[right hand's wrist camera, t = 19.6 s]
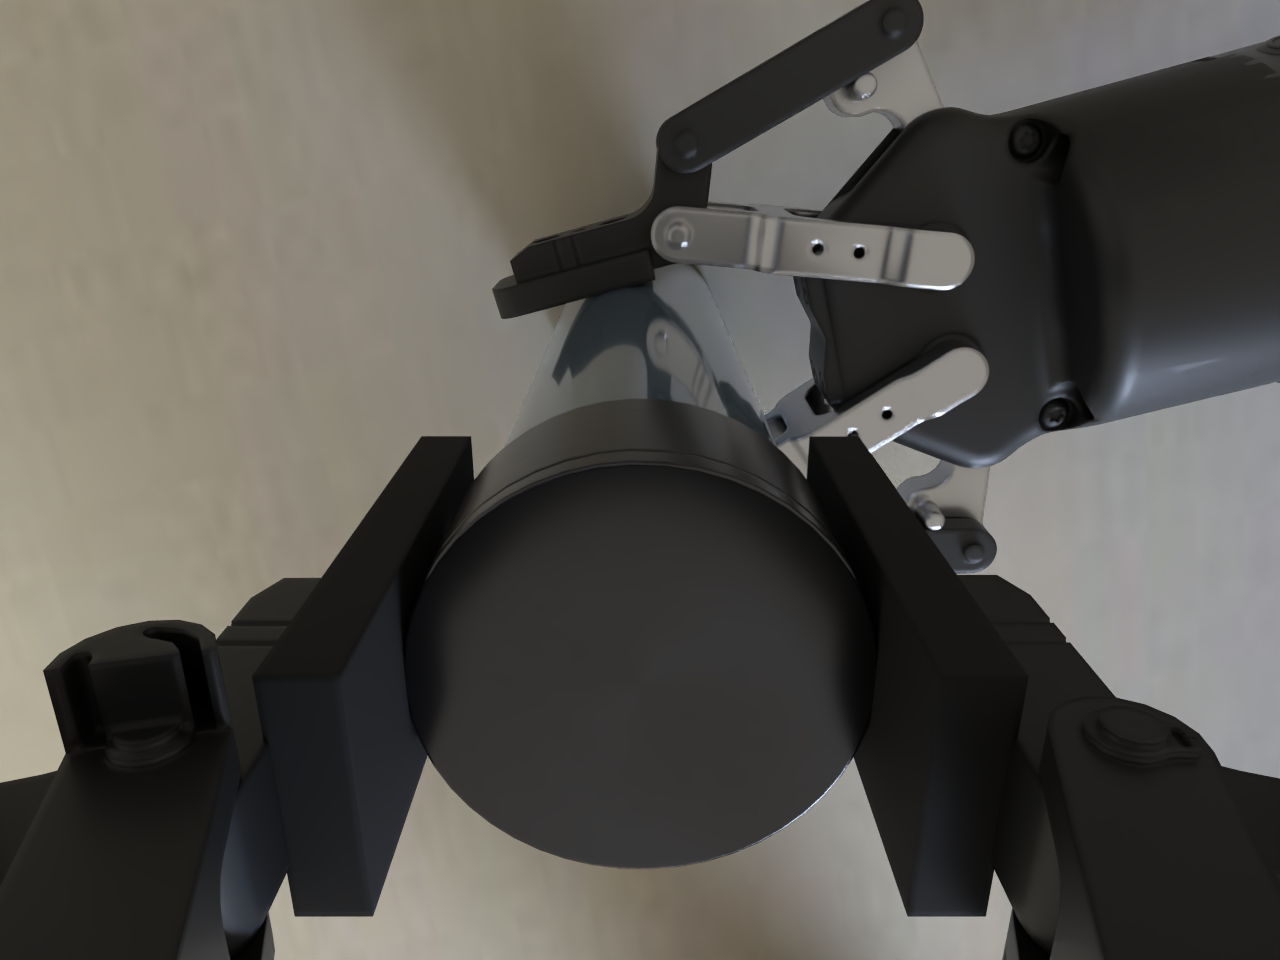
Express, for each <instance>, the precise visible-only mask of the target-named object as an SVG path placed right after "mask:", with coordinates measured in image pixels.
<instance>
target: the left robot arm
mask: <svg viewBox="0 0 1280 960" xmlns="http://www.w3.org/2000/svg"><path fill="white" fill-rule="evenodd" d="M923 20H924V19H923V11H922V7H921V5H920V3H919V1H918V0H869V1H867V2H865V3H863V4H862V5H860V6H858V7H856V8H854V9H853V10H851V11H849V12H848V13H846V14H844V15H843V16H841V17H839V18H838V19H836V20H834V21H833V22H831V23H829V24H827V25H826V26H824V27H822V28H821V29H819V30H817V31H816V32H814V33H812V34H811V35H809V36H807V37H806V38H804V39H802V40H800V41H799V42H797V43H795V44H794V45H792V46H790V47H789V48H787V49H785V50H784V51H782V52H780V53H779V54H777V55H775V56H773V57H772V58H770V59H768V60H767V61H765V62H763V63H762V64H760V65H758V66H757V67H755V68H753V69H752V70H750V71H748V72H746V73H745V74H743V75H741V76H740V77H738V78H736V79H735V80H733V81H731V82H730V83H728V84H726V85H724V86H723V87H721V88H719V89H718V90H716V91H714V92H713V93H711V94H709V95H708V96H706V97H704V98H703V99H701V100H699V101H697V102H696V103H694V104H692V105H691V106H689V107H687V108H686V109H684V110H682V111H681V112H679V113H677V114H676V115H674V116H672V117H670V118H669V119H668V120H666V121H665V122H664V123H663V124H662V126H661V127H660V129H659V131H658V134H657V139H656V146H657V156H656V166H655V177H654V186H653V190H652V193H651V196H650V198H649V199H648V201H647V202H646V203H645V205H644V206H643V207H641V208H640V209H639V210H637V211H635V212H634V213H631V214H628V215H624V216H621V217H617V218H613V219H610V220H606V221H602V222H599V223H595V224H591V225H588V226H584V227H580V228H577V229H573V230H569V231H566V232H562V233H559V234H554V235H551V236H547V237H543V238H540V239H536V240H534V241H533V242H532V243H530V244H529V245H528V246H527V247H525V248H524V249H523V250H522V251H520V252H519V253H518V254H517V255H516V256H515V257H514V258H513V259H512V260H511V261H510V263H511V266H512V269H513V272H514V275H512V276H509V277H506V278H504V279H502V280H500V281H499V282H498V283H497V284H496V285H495V287H494V288H493V289H492V290H493V294H494V297H495V300H496V303H497V306H498V309H499V313H500V316H501V318H502V319H507V318H513V317H517V316H521V315H525V314H529V313H533V312H536V311H540V310H544V309H548V308H552V307H555V306H559V305H563V304H567V303H570V302H574V301H578V300H582V299H586V298H589V297H593V296H597V295H601V294H604V293H608V292H610V291H613V290H618V289H623V288H627V287H631V286H635V285H638V284H642V283H646V282H650V281H654V280H656V277H655V269H657V268H661V267H665V266H668V265H672V264H676V263H686V264H697V265H709V266H721V267H732V268H744V269H751V270H755V271H759V272H763V273H769V274H778V275H789V276H793V278H794V283H795V288H796V293H797V296H798V298H799V300H800V302H801V304H802V306H803V308H804V310H805V312H806V314H807V316H808V318H809V320H810V322H811V332H810V346H809V358H810V363H811V368H812V373H813V378H812V379H811V380H809V381H807V382H806V383H804V384H803V385H801V386H800V387H798V388H796V389H795V390H793V391H792V392H790V393H789V394H787V395H786V396H784V397H783V398H782V399H781V400H780V401H779V402H778V403H777V405H776V406H775V408H774V409H773V410H772V411H771V412H769V413H768V414H766V415H765V418H766V421H767V423H768V425H769V428H770V430H771V432H772V435H773V437H774V439H775V442H776V444H777V446H778V449H780V450H781V451H782V452H783V453H784V454H785V455H786V456H787V457H788V458H789V459H790V460H791V461H792V462H793V463H794V464H795V466H796V467H797V468H798V469H799V470H800V471H801V472H802V474H803V475H804V477H805V478H806V479H807V466H808V452H809V437H810V436H859V437H860V439H861V440H862V442H863V443H864V444H865V446H866V447H867V449H868V450H869V451H870V453H871V452H873V451H875V450H876V449H878V448H880V447H881V446H883V445H885V444H886V443H888V442H890V441H894V442H897V443H899V444H902V445H904V446H907V447H910V448H912V449H915V450H917V451H920V452H923V453H925V454H928V455H930V456H933V457H936V458H938V459H941V461H940V463H939V464H938V466H937V467H936V468H935V469H934V470H932V471H931V472H929V473H927V474H925V475H922V476H915V477H911V478H909V479H906V480H905V481H903V482H902V483H901V484H900V485H899V486H898V488H897V491H898V492H899V494H900V495H901V497H902V498H903V499H904V501H905V502H906V504H907V505H908V506H909V508H910V509H911V511H912V512H913V514H914V515H915V516H916V518H917V519H918V521H919V522H920V523H921V525H922V526H923V528H924V529H925V530H926V532H927V533H928V535H929V536H930V538H931V539H932V540H933V542H934V543H935V545H936V546H937V547H938V549H939V550H940V552H941V553H942V554H943V556H944V557H945V559H946V560H947V562H948V563H949V564H950V566H951V567H952V569H953V570H954V571H955V573H976V572H979V571H981V570H983V569H985V568H986V567H988V566H989V565H990V564H991V563H992V561H993V560H994V558H995V555H996V551H997V546H996V542H995V540H994V538H993V537H992V536H991V535H990V534H989V532H988V531H987V530H986V529H985V528H984V527H983V523H982V522H983V514H984V507H985V500H986V492H987V485H988V478H989V471H990V466H992V465H994V464H997V463H999V462H1001V461H1002V460H1004V459H1006V458H1007V457H1008V456H1009V455H1011V454H1012V453H1013V452H1014V451H1016V450H1017V449H1018V448H1019V447H1021V446H1022V445H1024V444H1025V443H1027V442H1028V441H1030V440H1032V439H1034V438H1036V437H1038V436H1040V435H1042V434H1045V433H1049V432H1053V431H1059V430H1067V429H1075V428H1082V427H1088V426H1094V425H1098V424H1103V423H1107V422H1111V421H1115V420H1119V419H1123V418H1127V417H1132V416H1136V415H1140V414H1144V413H1148V412H1152V411H1156V410H1161V409H1165V408H1169V407H1173V406H1177V405H1181V404H1185V403H1189V402H1194V401H1198V400H1202V399H1206V398H1210V397H1214V396H1218V395H1224V394H1228V393H1232V392H1236V391H1240V390H1244V389H1249V388H1253V387H1257V386H1261V385H1265V384H1269V383H1273V382H1278V383H1280V36H1277V37H1274V38H1272V39H1270V40H1267V41H1265V42H1262V43H1258V44H1254V45H1251V46H1247V47H1244V48H1240V49H1237V50H1233V51H1229V52H1226V53H1222V54H1219V55H1215V56H1211V57H1206V58H1203V59H1199V60H1195V61H1192V62H1188V63H1184V64H1180V65H1177V66H1173V67H1169V68H1166V69H1162V70H1159V71H1155V72H1151V73H1148V74H1144V75H1140V76H1137V77H1133V78H1129V79H1126V80H1122V81H1118V82H1115V83H1111V84H1107V85H1104V86H1100V87H1096V88H1093V89H1089V90H1085V91H1082V92H1078V93H1074V94H1071V95H1067V96H1063V97H1060V98H1056V99H1052V100H1049V101H1045V102H1041V103H1038V104H1034V105H1030V106H1027V107H1023V108H1019V109H1016V110H1012V111H1008V112H1004V113H1000V114H995V115H982V114H977V113H973V112H970V111H967V110H964V109H960V108H952V107H947V108H943V105H942V103H941V100H940V98H939V95H938V93H937V90H936V88H935V85H934V83H933V80H932V78H931V75H930V73H929V70H928V68H927V65H926V63H925V60H924V58H923V55H922V53H921V50H920V48H919V45H918V43H917V39H918V37H919V36H920V33H921V31H922V27H923ZM821 99H823V100H824V102H825V104H826V106H827V107H828V109H829V110H830V111H831V112H833V113H834V114H836V115H838V116H841V117H859V116H863V115H866V114H869V113H871V112H877V113H879V114H882V115H883V116H885V117H886V118H887V119H888V120H889V121H890V122H891V124H892V125H893V127H894V128H893V129H892V130H891V131H890V133H889V134H888V135H887V136H886V137H885V138H884V140H883V141H882V142H881V143H880V144H879V145H878V147H877V148H876V149H875V150H874V151H873V152H872V154H871V155H870V156H869V157H868V158H867V159H866V161H865V162H864V163H863V164H862V165H861V166H860V168H859V169H858V170H857V171H856V172H855V173H854V175H853V176H852V177H851V178H850V179H849V180H848V182H847V183H846V184H845V185H844V186H843V187H842V189H841V190H840V191H839V192H838V193H837V194H836V196H835V197H834V198H833V199H832V200H831V201H830V203H829V204H828V205H827V206H826V207H825V208H824V210H818V209H807V208H795V207H784V206H773V205H761V204H734V203H723V202H711V201H708V196H709V187H710V178H711V169H712V162H714V161H716V160H717V159H719V158H721V157H722V156H724V155H726V154H728V153H729V152H731V151H733V150H735V149H736V148H738V147H740V146H742V145H743V144H745V143H747V142H748V141H750V140H752V139H754V138H755V137H757V136H759V135H761V134H762V133H764V132H766V131H767V130H769V129H771V128H773V127H774V126H776V125H778V124H780V123H781V122H783V121H785V120H787V119H788V118H790V117H792V116H793V115H795V114H797V113H799V112H800V111H802V110H804V109H806V108H807V107H809V106H811V105H813V104H814V103H816V102H818V101H819V100H821ZM825 399H826V400H825ZM850 431H853V432H852V433H851V434H848V433H849V432H850Z"/></svg>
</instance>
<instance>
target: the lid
mask: <svg viewBox="0 0 1280 960" xmlns="http://www.w3.org/2000/svg"><path fill="white" fill-rule="evenodd" d="M877 658H878V641H877V635H876V629H875V623H874V619H873V616H872V613H871V610H870V607H869V604H868V601H867V598H866V595H865V593H864V591H863V589H862V587H861V585H860V583H859V581H858V579H857V577H856V574H855V572H854V570H853V568H852V566H851V564H850V562H849V560H848V558H847V556H846V554H845V552H844V550H843V547H842V545H841V543H840V541H839V539H838V537H837V535H836V533H835V531H834V529H833V527H832V525H831V523H830V521H829V518H828V516H827V514H826V512H825V510H824V508H823V506H822V504H821V502H820V501H819V499H818V497H817V495H816V493H815V491H814V489H813V488H812V486H811V485H810V484H809V482H808V481H807V479H806V478H805V477H804V475H803V474H802V472H801V471H800V470H799V469H798V468H797V467H796V466H795V464H794V463H793V462H792V461H791V460H790V459H789V458H788V457H787V456H786V455H785V454H784V453H783V452H782V451H781V450H780V449H778V448H777V447H776V446H775V445H773V444H772V443H771V442H770V441H768V440H767V439H766V438H765V437H763V436H762V435H760V434H759V433H757V432H755V431H754V430H752V429H750V428H749V427H747V426H745V425H744V424H742V423H740V422H739V421H736V420H734V419H732V418H729V417H727V416H725V415H722V414H720V413H718V412H716V411H713V410H709V409H706V408H702V407H699V406H695V405H692V404H688V403H682V402H676V401H669V400H662V399H633V398H632V399H622V400H613V401H604V402H600V403H595V404H591V405H587V406H582V407H578V408H575V409H573V410H570V411H567V412H565V413H562V414H559V415H557V416H554V417H551V418H550V419H548V420H546V421H544V422H542V423H540V424H538V425H536V426H535V427H533V428H531V429H529V430H527V431H526V432H525V433H523V434H522V435H520V436H519V437H518V438H516V439H515V440H513V441H512V442H511V443H509V444H508V445H507V446H505V447H504V448H503V449H502V450H501V451H500V452H499V453H498V454H497V455H496V456H495V457H494V458H493V459H492V460H491V461H490V462H489V463H488V464H487V465H486V466H485V468H484V469H483V470H482V471H481V473H480V474H479V475H478V476H477V478H476V479H475V480H474V481H473V483H472V484H471V486H470V488H469V489H468V491H467V493H466V495H465V496H464V498H463V500H462V501H461V503H460V505H459V507H458V509H457V511H456V513H455V515H454V518H453V520H452V522H451V524H450V526H449V528H448V530H447V532H446V534H445V536H444V538H443V540H442V543H441V545H440V547H439V549H438V551H437V553H436V555H435V557H434V559H433V561H432V563H431V565H430V568H429V570H428V572H427V574H426V576H425V578H424V580H423V582H422V584H421V587H420V589H419V592H418V594H417V597H416V599H415V602H414V604H413V607H412V609H411V612H410V616H409V621H408V625H407V629H406V634H405V638H404V652H403V660H404V671H405V680H406V690H407V698H408V706H409V712H410V716H411V719H412V722H413V724H414V727H415V729H416V732H417V735H418V737H419V740H420V742H421V744H422V746H423V748H424V749H425V751H426V753H427V755H428V756H429V758H430V760H431V762H432V764H433V765H434V767H435V768H436V769H437V771H438V772H439V773H440V775H441V776H442V777H443V779H444V780H445V781H446V783H447V784H448V785H449V786H450V788H451V789H452V790H453V791H454V792H455V793H456V794H457V795H458V796H459V797H460V798H461V799H462V800H463V801H464V802H465V803H466V804H467V805H468V806H469V807H470V808H472V809H473V810H474V811H475V812H477V813H478V814H479V815H480V816H482V817H483V818H484V819H486V820H487V821H488V822H489V823H491V824H492V825H494V826H495V827H497V828H499V829H500V830H502V831H504V832H505V833H507V834H508V835H510V836H512V837H513V838H515V839H517V840H520V841H522V842H524V843H526V844H528V845H530V846H532V847H534V848H537V849H539V850H541V851H544V852H547V853H550V854H553V855H556V856H559V857H562V858H565V859H569V860H573V861H577V862H582V863H586V864H590V865H596V866H604V867H612V868H621V869H657V868H670V867H679V866H685V865H690V864H696V863H701V862H706V861H709V860H713V859H716V858H719V857H723V856H726V855H729V854H733V853H735V852H738V851H740V850H742V849H745V848H747V847H749V846H752V845H754V844H757V843H759V842H761V841H762V840H764V839H766V838H768V837H770V836H771V835H773V834H775V833H777V832H779V831H780V830H782V829H784V828H785V827H786V826H788V825H789V824H791V823H792V822H793V821H795V820H796V819H798V818H799V817H800V816H802V815H803V814H805V813H806V812H807V811H808V810H809V809H810V808H811V807H812V806H813V805H814V804H815V803H817V802H818V801H819V800H820V799H821V798H822V797H823V796H824V795H825V794H826V793H827V792H828V791H829V789H830V788H831V787H832V786H833V785H834V783H835V782H836V781H837V780H838V779H839V778H840V776H841V775H842V774H843V772H844V771H845V769H846V768H847V766H848V764H849V763H850V761H851V760H852V758H853V757H854V755H855V754H856V752H857V750H858V748H859V745H860V743H861V741H862V739H863V737H864V735H865V732H866V730H867V728H868V725H869V721H870V718H871V712H872V705H873V696H874V687H875V678H876V668H877Z"/></svg>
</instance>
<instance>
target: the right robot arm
mask: <svg viewBox="0 0 1280 960" xmlns="http://www.w3.org/2000/svg"><path fill="white" fill-rule="evenodd" d="M473 481H474V472H473V458H472V444H471V436H422V437H421V438H420V440H419V441H418V442H417V444H416V445H415V447H414V448H413V449H412V451H411V452H410V454H409V455H408V456H407V458H406V459H405V461H404V462H403V464H402V465H401V466H400V468H399V469H398V471H397V472H396V473H395V475H394V476H393V478H392V479H391V480H390V482H389V483H388V485H387V486H386V488H385V489H384V490H383V492H382V493H381V495H380V496H379V497H378V499H377V500H376V502H375V503H374V504H373V506H372V507H371V509H370V510H369V512H368V513H367V514H366V516H365V517H364V519H363V520H362V521H361V523H360V524H359V526H358V527H357V528H356V530H355V531H354V533H353V534H352V536H351V537H350V538H349V540H348V541H347V543H346V544H345V545H344V547H343V548H342V550H341V551H340V552H339V554H338V555H337V557H336V558H335V560H334V561H333V562H332V564H331V565H330V567H329V568H328V569H327V571H326V572H325V574H324V575H323V576H322V578H283V579H282V580H280V581H278V582H277V583H275V584H273V585H272V586H270V587H268V588H267V589H265V590H263V591H262V592H260V593H258V594H257V595H255V596H253V597H252V598H251V599H250V600H249V601H248V602H247V603H246V605H245V606H244V607H243V608H242V609H241V611H240V612H239V613H238V614H237V615H236V617H235V618H234V619H233V620H232V625H231V626H227V627H226V629H225V630H224V631H223V632H222V634H221V635H220V636H219V637H218V638H217V640H216V637H215V634H214V633H212V632H211V631H210V630H208V629H207V628H206V627H204V626H203V625H201V624H196V623H191V622H187V621H182V620H161V621H146V622H141V623H136V624H131V625H126V626H121V627H117V628H114V629H111V630H108V631H106V632H103V633H100V634H97V635H94V636H92V637H89V638H86V639H84V640H83V641H81V642H79V643H77V644H76V645H74V646H72V647H70V648H69V649H67V650H65V651H64V652H62V653H60V654H59V655H58V656H57V657H56V658H55V659H54V660H53V661H52V662H51V663H50V664H49V665H48V666H47V667H46V668H45V669H44V670H43V672H44V676H45V679H46V683H47V686H48V690H49V694H50V697H51V701H52V705H53V708H54V712H55V716H56V719H57V723H58V726H59V730H60V734H61V737H62V741H63V745H64V748H65V752H66V754H65V756H64V758H63V760H62V762H61V764H60V766H59V768H58V770H57V771H54V772H50V773H47V774H43V775H38V776H33V777H28V778H23V779H18V780H13V781H7V782H2V783H0V960H274V954H275V948H274V941H273V934H272V928H271V923H270V918H269V912H268V911H269V909H270V907H271V905H272V903H273V901H274V899H275V897H276V894H277V892H278V890H279V888H280V886H281V884H282V882H283V880H284V878H285V875H286V873H287V875H288V881H289V886H290V892H291V898H292V903H293V909H294V914H295V916H373V915H374V912H375V909H376V906H377V903H378V900H379V897H380V894H381V891H382V888H383V885H384V882H385V879H386V876H387V873H388V870H389V867H390V864H391V861H392V858H393V856H394V853H395V850H396V847H397V844H398V841H399V838H400V835H401V832H402V829H403V826H404V823H405V820H406V817H407V814H408V811H409V808H410V805H411V802H412V799H413V796H414V794H415V791H416V788H417V785H418V782H419V779H420V776H421V773H422V770H423V767H424V764H425V761H426V758H427V753H426V751H425V749H424V748H423V746H422V744H421V742H420V740H419V737H418V735H417V732H416V729H415V727H414V724H413V722H412V719H411V716H410V712H409V706H408V698H407V690H406V680H405V671H404V660H403V652H404V638H405V634H406V629H407V625H408V621H409V616H410V612H411V609H412V607H413V604H414V602H415V599H416V597H417V594H418V592H419V589H420V587H421V584H422V582H423V580H424V578H425V576H426V574H427V572H428V570H429V568H430V565H431V563H432V561H433V559H434V557H435V555H436V553H437V551H438V549H439V547H440V545H441V543H442V540H443V538H444V536H445V534H446V532H447V530H448V528H449V526H450V524H451V522H452V520H453V518H454V515H455V513H456V511H457V509H458V507H459V505H460V503H461V501H462V500H463V498H464V496H465V495H466V493H467V491H468V489H469V488H470V486H471V484H472V483H473ZM807 481H808V482H809V484H810V485H811V486H812V488H813V489H814V491H815V493H816V495H817V497H818V499H819V501H820V502H821V504H822V506H823V508H824V510H825V512H826V514H827V516H828V518H829V521H830V523H831V525H832V527H833V529H834V531H835V533H836V535H837V537H838V539H839V541H840V543H841V545H842V547H843V550H844V552H845V554H846V556H847V558H848V560H849V562H850V564H851V566H852V568H853V570H854V572H855V574H856V577H857V579H858V581H859V583H860V585H861V587H862V589H863V591H864V593H865V595H866V598H867V601H868V604H869V607H870V610H871V613H872V616H873V619H874V623H875V629H876V635H877V641H878V658H877V668H876V678H875V687H874V696H873V705H872V712H871V718H870V721H869V725H868V728H867V730H866V732H865V735H864V737H863V739H862V741H861V743H860V745H859V748H858V750H857V752H856V754H855V755H854V759H855V762H856V765H857V768H858V771H859V774H860V777H861V780H862V783H863V786H864V789H865V792H866V795H867V798H868V801H869V804H870V807H871V810H872V813H873V816H874V818H875V821H876V824H877V827H878V830H879V833H880V836H881V839H882V842H883V845H884V848H885V851H886V854H887V857H888V860H889V863H890V866H891V869H892V872H893V875H894V878H895V880H896V883H897V886H898V889H899V892H900V895H901V898H902V901H903V904H904V907H905V910H906V913H907V916H986V912H987V906H988V901H989V895H990V890H991V884H992V878H993V873H994V870H995V872H996V874H997V876H998V878H999V880H1000V882H1001V884H1002V886H1003V888H1004V891H1005V893H1006V895H1007V897H1008V899H1009V901H1010V903H1011V905H1012V912H1011V918H1010V923H1009V928H1008V933H1007V938H1006V944H1005V949H1004V954H1003V959H1002V960H1280V779H1279V778H1274V777H1269V776H1264V775H1258V774H1253V773H1248V772H1243V771H1239V770H1235V769H1231V768H1227V767H1223V766H1221V765H1220V763H1219V761H1218V759H1217V757H1216V755H1215V753H1214V751H1213V750H1212V749H1211V748H1210V746H1209V745H1208V744H1207V743H1206V742H1205V740H1204V739H1203V738H1202V737H1201V735H1200V734H1199V733H1197V732H1196V731H1194V730H1193V729H1191V728H1190V727H1189V726H1187V725H1186V724H1184V723H1183V722H1181V721H1180V720H1178V719H1177V718H1175V717H1173V716H1171V715H1169V714H1166V713H1164V712H1162V711H1159V710H1157V709H1155V708H1152V707H1150V706H1147V705H1145V704H1141V703H1137V702H1133V701H1128V700H1124V699H1120V698H1116V697H1115V696H1114V695H1113V693H1112V692H1111V691H1110V690H1109V689H1108V687H1107V686H1106V685H1105V684H1104V683H1103V682H1102V680H1101V679H1100V678H1099V677H1098V676H1097V674H1096V673H1095V672H1094V671H1093V670H1092V668H1091V667H1090V666H1089V665H1088V664H1087V662H1086V661H1085V660H1084V659H1083V658H1082V656H1081V655H1080V654H1079V653H1078V652H1077V650H1076V649H1075V648H1074V647H1073V646H1072V644H1071V643H1066V637H1065V636H1064V635H1063V634H1062V632H1061V631H1060V630H1059V629H1058V628H1057V626H1056V625H1055V624H1054V623H1050V618H1049V617H1048V616H1047V614H1046V613H1045V612H1044V611H1043V610H1042V608H1041V607H1040V606H1039V605H1038V604H1037V602H1036V601H1035V600H1034V599H1033V598H1032V596H1031V595H1029V594H1028V593H1026V592H1024V591H1023V590H1021V589H1019V588H1018V587H1016V586H1014V585H1013V584H1011V583H1009V582H1008V581H1006V580H1004V579H1003V578H1001V577H999V576H998V575H957V574H956V573H955V571H954V570H953V569H952V567H951V566H950V564H949V563H948V562H947V560H946V559H945V557H944V556H943V554H942V553H941V552H940V550H939V549H938V547H937V546H936V545H935V543H934V542H933V540H932V539H931V538H930V536H929V535H928V533H927V532H926V530H925V529H924V528H923V526H922V525H921V523H920V522H919V521H918V519H917V518H916V516H915V515H914V514H913V512H912V511H911V509H910V508H909V506H908V505H907V504H906V502H905V501H904V499H903V498H902V497H901V495H900V494H899V492H898V491H897V490H896V488H895V487H894V485H893V484H892V483H891V481H890V480H889V478H888V477H887V475H886V474H885V473H884V471H883V470H882V468H881V467H880V466H879V464H878V463H877V461H876V460H875V459H874V457H873V456H872V454H871V453H870V451H869V450H868V449H867V447H866V446H865V444H864V443H863V442H862V440H861V439H860V437H859V436H810V437H809V452H808V466H807Z"/></svg>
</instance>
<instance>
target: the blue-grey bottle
mask: <svg viewBox="0 0 1280 960" xmlns="http://www.w3.org/2000/svg"><path fill="white" fill-rule="evenodd" d="M655 277H656V280H654V281H650V282H646V283H642V284H638V285H635V286H631V287H627V288H623V289H618V290H613V291H610V292H608V293H604V294H601V295H597V296H593V297H589V298H586V299H582V300H578V301H574V302H570V303H567V304H565V306H564V308H563V310H562V313H561V315H560V317H559V320H558V322H557V324H556V327H555V329H554V331H553V334H552V336H551V339H550V341H549V343H548V346H547V348H546V350H545V353H544V355H543V357H542V360H541V362H540V364H539V367H538V369H537V371H536V374H535V376H534V378H533V381H532V383H531V385H530V388H529V390H528V392H527V395H526V397H525V399H524V402H523V404H522V406H521V409H520V411H519V413H518V416H517V418H516V421H515V423H514V425H513V428H512V430H511V432H510V435H509V437H508V439H507V442H506V444H505V446H507V445H508V444H509V443H511V442H512V441H513V440H515V439H516V438H518V437H519V436H520V435H522V434H523V433H525V432H526V431H527V430H529V429H531V428H533V427H535V426H536V425H538V424H540V423H542V422H544V421H546V420H548V419H550V418H551V417H554V416H557V415H559V414H562V413H565V412H567V411H570V410H573V409H575V408H578V407H582V406H587V405H591V404H595V403H600V402H604V401H613V400H622V399H632V398H633V399H662V400H669V401H676V402H682V403H688V404H692V405H695V406H699V407H702V408H706V409H709V410H713V411H716V412H718V413H720V414H722V415H725V416H727V417H729V418H732V419H734V420H736V421H739V422H740V423H742V424H744V425H745V426H747V427H749V428H750V429H752V430H754V431H755V432H757V433H759V434H760V435H762V436H763V437H765V438H766V439H767V440H768V441H770V442H771V443H772V444H773V445H775V446H776V447H777V448H778V446H777V444H776V442H775V439H774V437H773V435H772V432H771V430H770V428H769V425H768V423H767V421H766V418H765V416H764V414H763V411H762V409H761V407H760V405H759V402H758V400H757V398H756V395H755V393H754V391H753V388H752V386H751V384H750V381H749V379H748V377H747V374H746V372H745V370H744V367H743V365H742V363H741V361H740V358H739V356H738V354H737V351H736V349H735V347H734V344H733V342H732V340H731V337H730V335H729V333H728V330H727V328H726V326H725V323H724V321H723V319H722V316H721V314H720V312H719V310H718V307H717V305H716V303H715V300H714V298H713V296H712V293H711V291H710V289H709V287H708V285H707V284H706V282H705V280H704V279H703V277H702V276H701V275H700V274H699V273H698V271H697V270H696V269H695V268H694V267H693V266H691V265H690V264H686V263H676V264H672V265H668V266H665V267H661V268H657V269H655ZM505 446H504V447H505Z"/></svg>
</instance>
